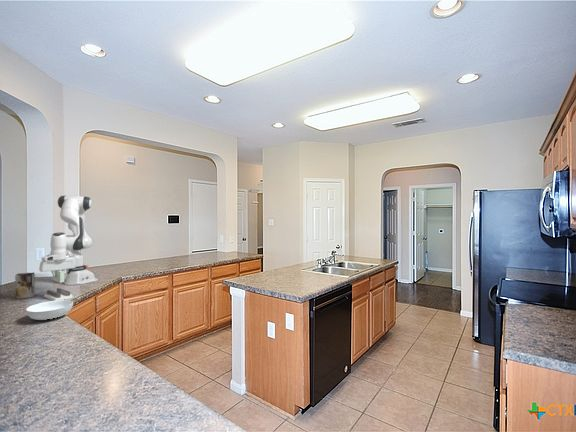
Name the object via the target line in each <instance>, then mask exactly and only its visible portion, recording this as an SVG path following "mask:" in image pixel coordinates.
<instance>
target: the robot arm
mask: <svg viewBox="0 0 576 432" xmlns="http://www.w3.org/2000/svg"><path fill="white" fill-rule="evenodd" d="M92 203H93V202H92V199H91V197H88V196H82V195H60V196H58V199H57V206H58V207H59V208H60V213H59V217H60V219H61V220H62V221H63V222H65V223H67V228H68V230H70V231H71V232H72V234H69V235H68V234H67V233H66V232H55V233H51V237H50V248H51V249H50V252H49V253H50V254H48V255H44V256H42V257H41V261H40V262H39V269H38V270H39V272H40V273H47V272H48V273H49V272H50V273H51V274H52V278H53V277H57V274H55V273H54V272H55V271H56V270H60V271H64V273H65V272H66V276H65V280H64V285H66V286H67V285H68V286H74V285H75V286H77V285H78V286H79V285H80V286H81V285H85V284H89V283H93V282H96V281H97V282H98V278H97V277H95V274H94V272H92V271H90V270H88V269H89V267H90V266H89V265H87V264H84V263H85V262H84V261H85V259H84V258H85V257H84V255H83V253H81V252H80V251H81V250H84V249H89V248H91V247H92V245H93V239H92V238H91V236H89V234H88V233H87V231H86V211H88V210H90V209H91V207H92Z"/></svg>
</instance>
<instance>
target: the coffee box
mask: <svg viewBox="0 0 576 432" xmlns="http://www.w3.org/2000/svg"><path fill="white" fill-rule="evenodd" d="M14 278H15V279H14V282H15V284H14V285H15V287H14V288H15V300H18V299H28V298H34V297H35V295H36V293H35V291H36V287H35V285H36V284H35V279H36V278H35V272H23V273H21V272H19V273H17V274H15V275H14Z"/></svg>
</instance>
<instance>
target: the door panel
mask: <svg viewBox="0 0 576 432" xmlns="http://www.w3.org/2000/svg"><path fill="white" fill-rule="evenodd" d="M54 273H55V274H57V277H53V276H52V281H54V282H57V283H60V284H61V283H65V272H64V271H62V270H56V271H55V272H54Z"/></svg>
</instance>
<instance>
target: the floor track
mask: <svg viewBox="0 0 576 432" xmlns="http://www.w3.org/2000/svg"><path fill="white" fill-rule="evenodd" d="M44 298H45V299H48V300H49V301H55V300H64V299H65V300H70V299H73V294H71V291H69V290H67V289H63V288H60V287H57V288H56V291H55V290H52V289H47V290H46V293H45V294H44ZM69 298H70V299H69Z"/></svg>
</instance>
